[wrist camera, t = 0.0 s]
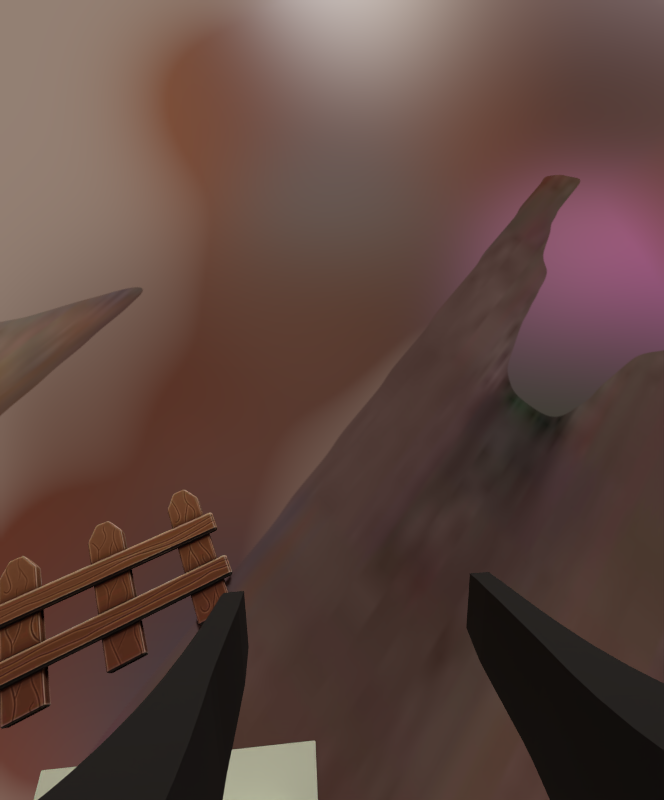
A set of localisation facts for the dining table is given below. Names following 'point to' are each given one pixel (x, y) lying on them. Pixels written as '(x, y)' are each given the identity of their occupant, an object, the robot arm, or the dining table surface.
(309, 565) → the dining table surface
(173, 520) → the decorative fence
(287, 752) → the card
